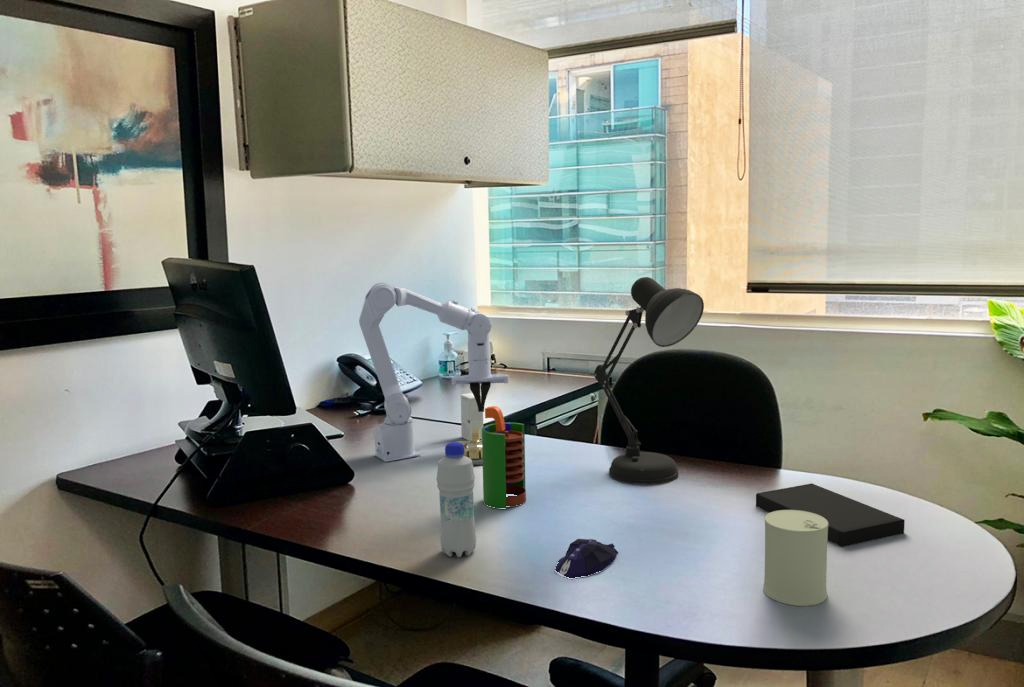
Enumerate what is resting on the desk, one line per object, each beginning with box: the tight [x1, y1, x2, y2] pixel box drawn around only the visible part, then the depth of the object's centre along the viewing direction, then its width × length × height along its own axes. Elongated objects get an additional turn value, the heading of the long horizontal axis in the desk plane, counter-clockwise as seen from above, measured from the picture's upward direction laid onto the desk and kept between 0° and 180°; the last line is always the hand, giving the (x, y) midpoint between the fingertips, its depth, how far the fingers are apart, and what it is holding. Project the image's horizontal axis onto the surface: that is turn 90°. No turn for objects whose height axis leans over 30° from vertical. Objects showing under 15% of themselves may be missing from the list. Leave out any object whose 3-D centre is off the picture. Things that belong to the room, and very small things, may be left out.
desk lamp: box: [593, 276, 705, 485], centre depth 179 cm, size 24×26×45 cm
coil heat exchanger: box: [482, 405, 527, 509], centre depth 166 cm, size 10×9×20 cm
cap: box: [466, 443, 483, 466], centre depth 200 cm, size 13×13×4 cm
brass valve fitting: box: [457, 429, 482, 459], centre depth 200 cm, size 11×12×4 cm
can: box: [762, 510, 828, 607], centre depth 121 cm, size 9×9×12 cm
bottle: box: [436, 441, 477, 558], centre depth 140 cm, size 7×7×20 cm
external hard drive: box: [755, 482, 906, 548], centre depth 152 cm, size 14×23×3 cm, turn 21°
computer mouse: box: [554, 538, 619, 578], centre depth 136 cm, size 9×15×4 cm, turn 137°
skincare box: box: [460, 392, 484, 441], centre depth 219 cm, size 6×4×12 cm
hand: (481, 411), depth 208 cm, fingers closed
